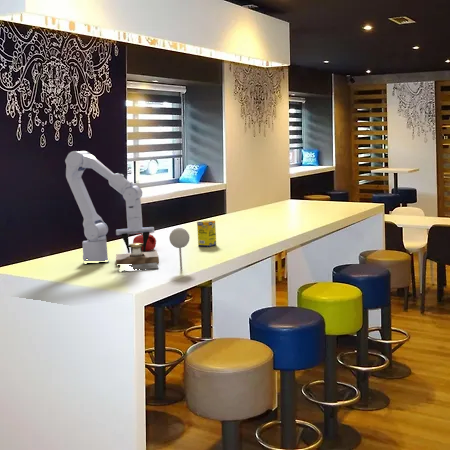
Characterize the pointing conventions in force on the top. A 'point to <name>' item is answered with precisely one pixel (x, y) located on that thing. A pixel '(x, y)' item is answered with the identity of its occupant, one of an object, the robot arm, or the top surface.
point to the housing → (137, 258)
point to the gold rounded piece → (136, 249)
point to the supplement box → (206, 233)
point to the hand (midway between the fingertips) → (136, 252)
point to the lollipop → (179, 240)
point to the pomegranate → (150, 242)
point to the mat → (144, 266)
